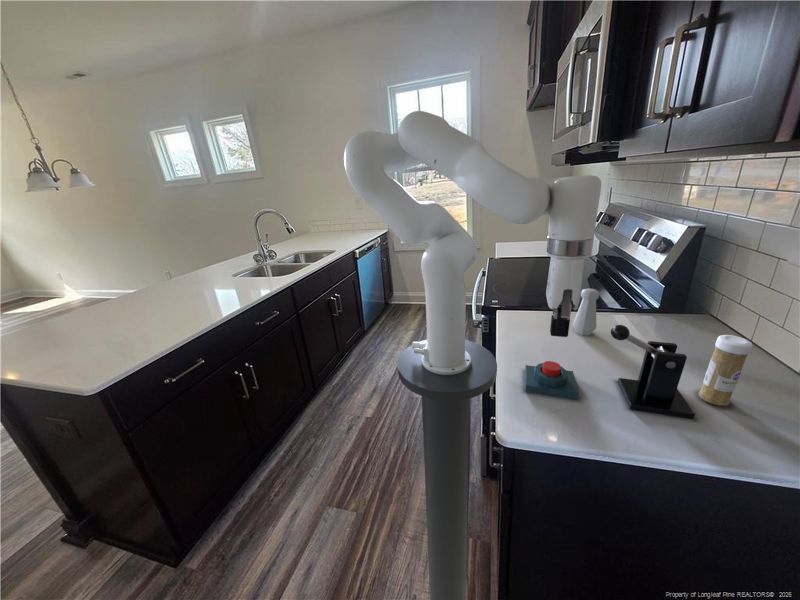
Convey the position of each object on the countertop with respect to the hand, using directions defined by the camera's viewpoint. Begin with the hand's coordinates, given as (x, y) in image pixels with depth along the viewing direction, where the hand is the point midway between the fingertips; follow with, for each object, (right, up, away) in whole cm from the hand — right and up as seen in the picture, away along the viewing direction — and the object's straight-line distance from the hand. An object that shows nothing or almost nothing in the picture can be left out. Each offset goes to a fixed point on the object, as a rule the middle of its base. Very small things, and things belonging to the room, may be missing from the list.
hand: (558, 334), depth 65 cm
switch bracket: (+18, -13, -1) cm, 22 cm away
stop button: (0, -9, +4) cm, 9 cm away
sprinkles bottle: (+30, -13, -2) cm, 32 cm away
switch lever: (+13, -3, -4) cm, 14 cm away
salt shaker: (+20, -2, +26) cm, 33 cm away
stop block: (0, -12, +5) cm, 13 cm away
